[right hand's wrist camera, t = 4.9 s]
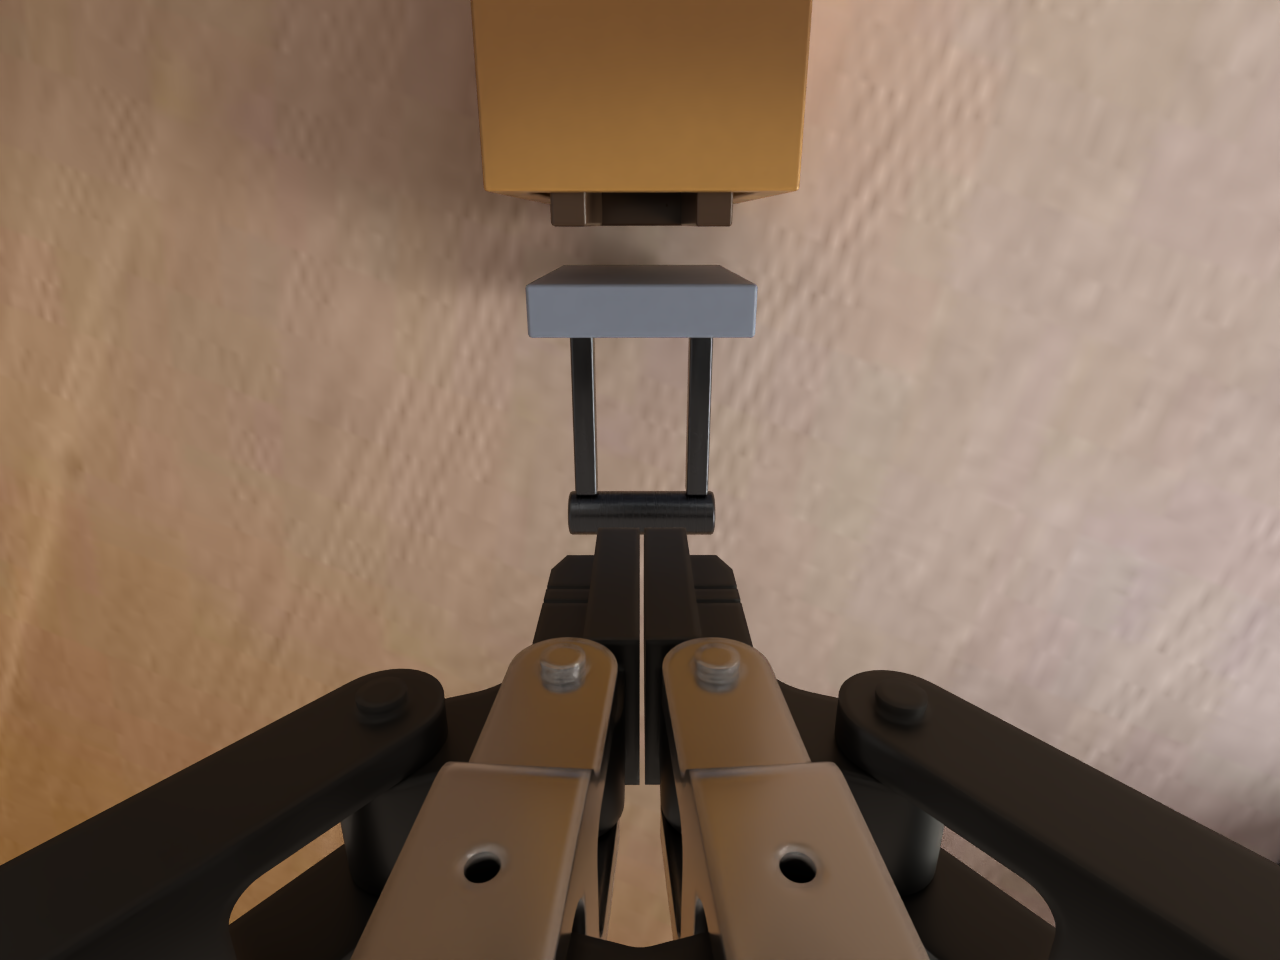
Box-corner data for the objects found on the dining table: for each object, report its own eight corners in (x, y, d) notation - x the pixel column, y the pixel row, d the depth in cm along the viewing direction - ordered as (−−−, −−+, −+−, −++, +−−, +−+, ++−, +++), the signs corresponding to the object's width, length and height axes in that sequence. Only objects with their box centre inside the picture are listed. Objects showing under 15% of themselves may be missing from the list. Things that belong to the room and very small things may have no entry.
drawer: (713, 470, 25) (742, 568, 18) (569, 470, 25) (540, 568, 18) (747, -445, 17) (824, -930, 10) (535, -445, 17) (457, -928, 10)
